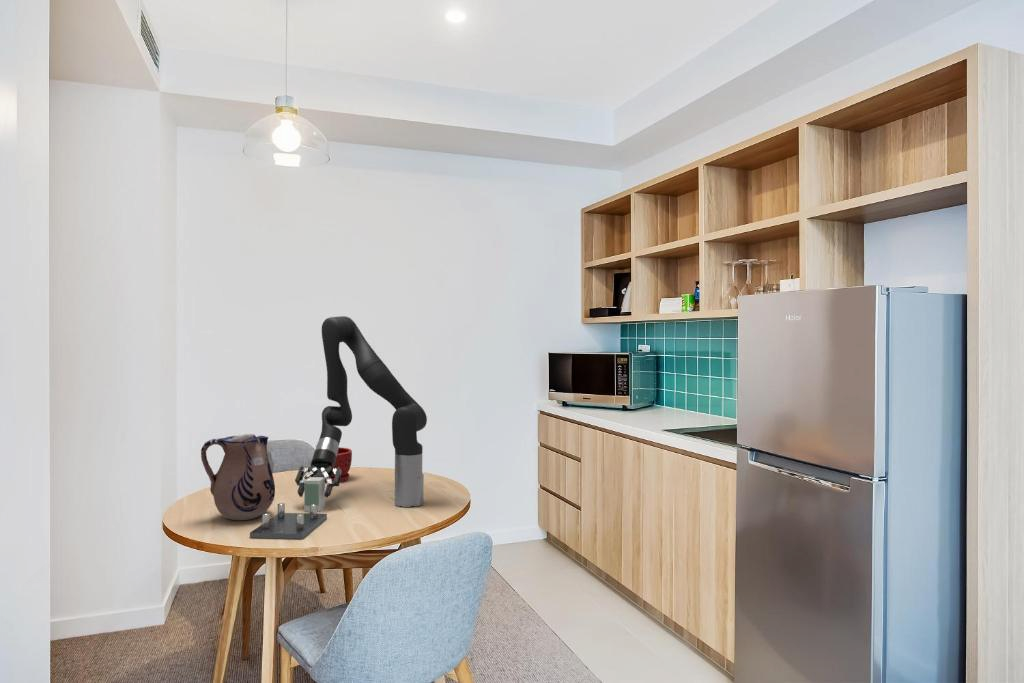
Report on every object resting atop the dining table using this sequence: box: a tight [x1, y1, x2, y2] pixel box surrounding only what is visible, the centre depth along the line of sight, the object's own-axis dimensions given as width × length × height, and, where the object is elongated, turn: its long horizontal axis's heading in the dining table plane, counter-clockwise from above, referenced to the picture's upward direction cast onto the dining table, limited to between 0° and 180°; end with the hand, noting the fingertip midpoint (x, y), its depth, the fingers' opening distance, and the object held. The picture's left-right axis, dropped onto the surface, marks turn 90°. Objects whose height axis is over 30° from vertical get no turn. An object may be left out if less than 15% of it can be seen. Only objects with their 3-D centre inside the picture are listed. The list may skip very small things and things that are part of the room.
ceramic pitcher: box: [200, 433, 276, 521], centre depth 196 cm, size 18×21×25 cm
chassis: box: [249, 502, 328, 540], centre depth 186 cm, size 15×20×6 cm
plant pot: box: [325, 446, 353, 483], centre depth 247 cm, size 13×13×12 cm
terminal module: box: [303, 476, 326, 512], centre depth 206 cm, size 5×5×10 cm
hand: (313, 495), depth 204 cm, fingers open, 8 cm apart
